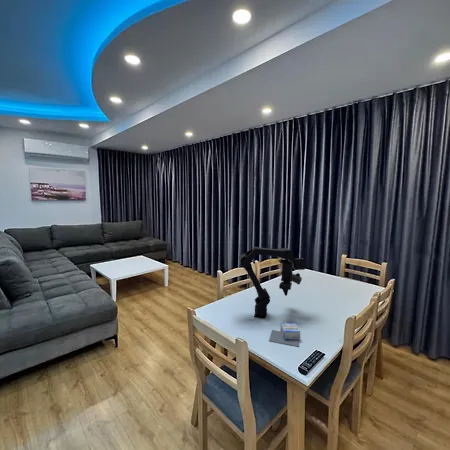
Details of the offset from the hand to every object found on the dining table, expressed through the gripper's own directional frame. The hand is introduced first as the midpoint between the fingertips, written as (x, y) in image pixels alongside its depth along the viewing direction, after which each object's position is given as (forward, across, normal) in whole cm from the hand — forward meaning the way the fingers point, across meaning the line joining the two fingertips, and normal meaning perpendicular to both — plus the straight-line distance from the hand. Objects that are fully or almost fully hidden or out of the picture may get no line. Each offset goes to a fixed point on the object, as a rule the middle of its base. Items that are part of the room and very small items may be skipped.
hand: (286, 295), depth 143 cm
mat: (+12, -25, -2) cm, 28 cm away
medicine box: (+9, -18, -3) cm, 20 cm away
